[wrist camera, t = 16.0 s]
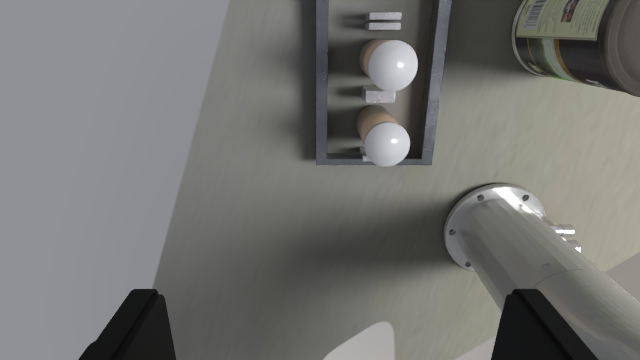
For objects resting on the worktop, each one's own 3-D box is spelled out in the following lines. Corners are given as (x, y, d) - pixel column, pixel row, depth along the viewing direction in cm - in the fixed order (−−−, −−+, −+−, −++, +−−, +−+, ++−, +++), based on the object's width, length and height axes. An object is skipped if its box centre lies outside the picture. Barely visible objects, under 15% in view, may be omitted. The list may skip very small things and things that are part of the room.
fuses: (398, 37, 40) (420, 40, 31) (390, 140, 44) (407, 166, 36) (358, 37, 40) (369, 40, 31) (354, 140, 44) (363, 166, 35)
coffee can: (603, 69, 41) (736, 89, 28) (507, 82, 42) (595, 108, 28) (619, -37, 37) (782, -72, 24) (513, -22, 38) (617, -48, 25)
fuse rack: (455, -86, 36) (469, -98, 32) (426, 159, 45) (435, 169, 42) (316, -87, 35) (316, -99, 32) (316, 159, 45) (316, 169, 41)
